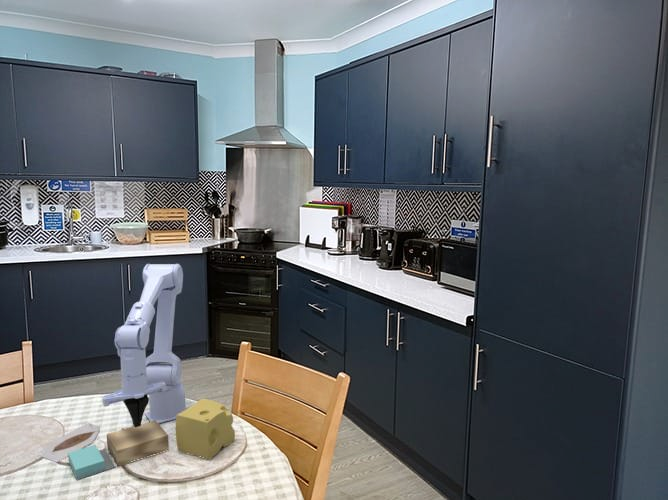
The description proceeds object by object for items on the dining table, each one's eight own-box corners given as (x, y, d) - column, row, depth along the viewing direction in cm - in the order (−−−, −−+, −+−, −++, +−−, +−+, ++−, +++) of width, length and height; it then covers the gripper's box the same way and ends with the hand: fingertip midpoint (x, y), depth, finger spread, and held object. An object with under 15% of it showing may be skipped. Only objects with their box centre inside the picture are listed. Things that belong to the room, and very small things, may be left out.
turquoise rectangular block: (68, 452, 114) (68, 460, 114) (75, 469, 107) (76, 478, 107) (95, 444, 117) (95, 452, 118) (104, 460, 110) (104, 468, 111)
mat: (105, 449, 119) (105, 448, 119) (115, 467, 112) (115, 466, 112) (69, 460, 115) (69, 459, 115) (77, 480, 107) (77, 479, 107)
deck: (155, 434, 127) (155, 420, 127) (168, 450, 119) (168, 435, 119) (107, 449, 120) (106, 434, 119) (117, 466, 112) (116, 450, 111)
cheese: (235, 441, 124) (234, 404, 123) (208, 462, 114) (206, 422, 113) (203, 432, 128) (202, 397, 127) (174, 452, 118) (173, 414, 117)
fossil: (88, 422, 132) (113, 428, 128) (88, 426, 133) (114, 432, 128) (30, 452, 118) (56, 460, 114) (30, 456, 118) (56, 464, 114)
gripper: (106, 385, 110) (109, 441, 111) (169, 370, 118) (171, 422, 120) (99, 376, 115) (102, 429, 117) (159, 362, 124) (162, 412, 126)
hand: (136, 425), depth 119 cm, fingers closed
